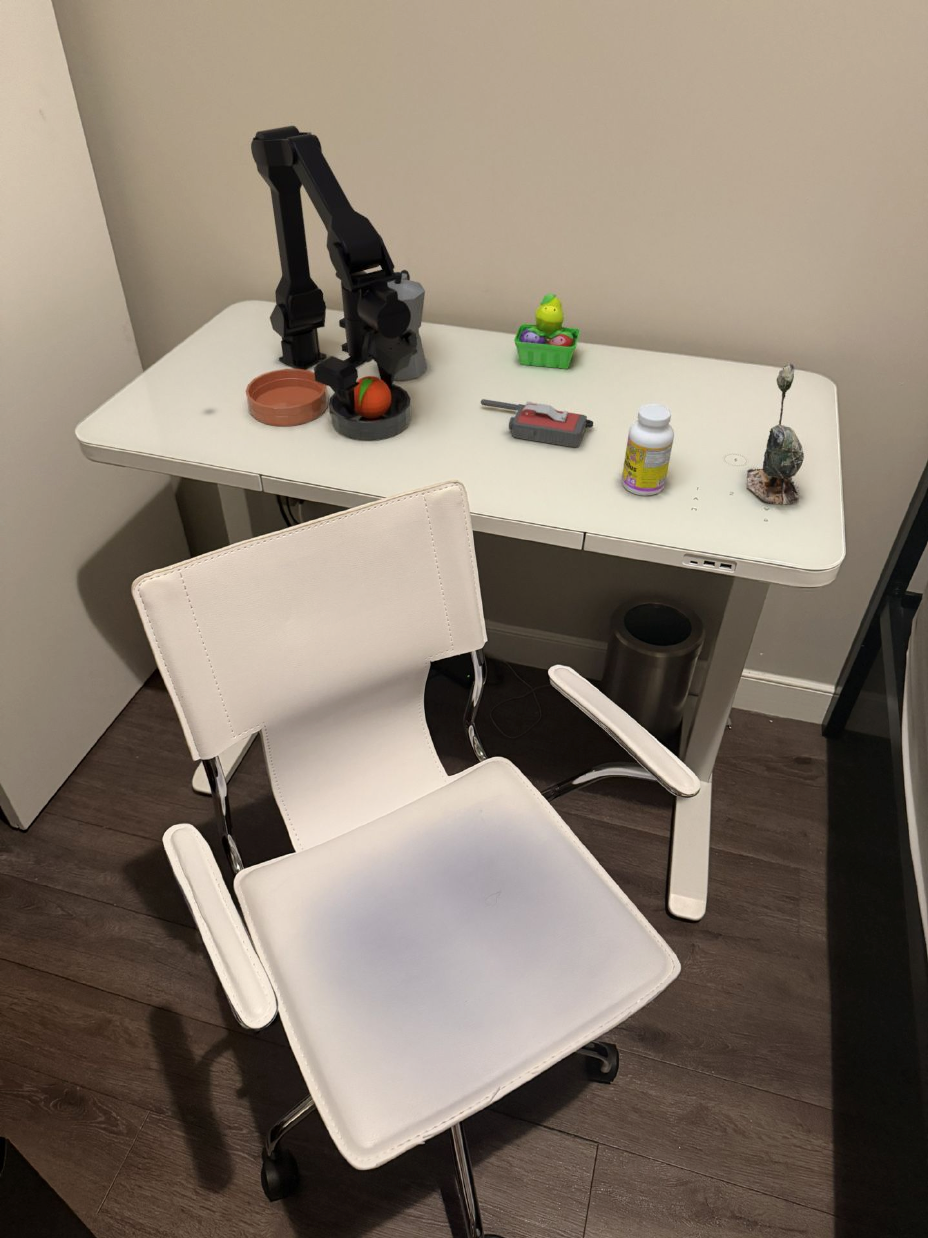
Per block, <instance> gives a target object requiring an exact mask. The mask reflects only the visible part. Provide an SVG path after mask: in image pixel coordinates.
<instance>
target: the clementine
mask: <svg viewBox="0 0 928 1238" xmlns="http://www.w3.org/2000/svg"><path fill="white" fill-rule="evenodd" d="M356 382H359V385H358V386H357V387H356V388H355V389H354V396H355V411H356V412H357V413H358V414H359V415H360V416H362V417H365V418H368V419H374V418H378V417H380V416H382V415H383V414H385V412H386V411H387V410H388V409H389V406H390V404H391V392H390V389H389V387H388V386H387V384H386V383H385V382H384V381H383V380H381V379H380V377H377V376H375V375H366V376H363V377H361V378H358V379H357V381H356Z"/></svg>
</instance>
